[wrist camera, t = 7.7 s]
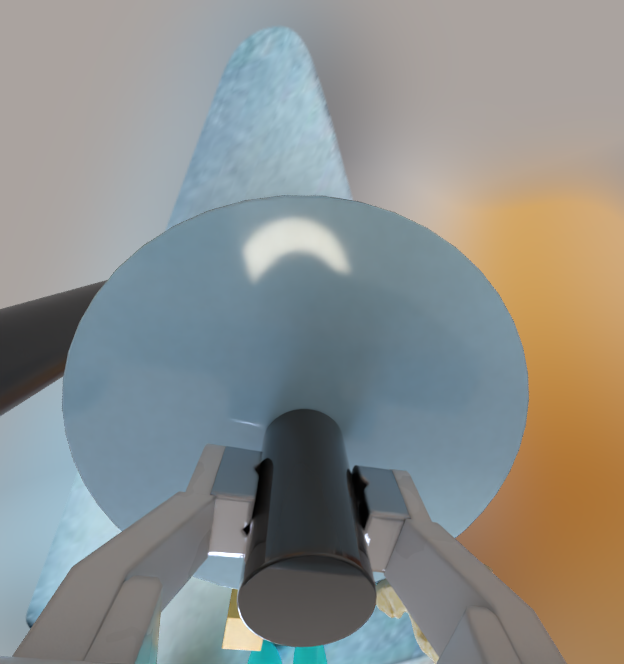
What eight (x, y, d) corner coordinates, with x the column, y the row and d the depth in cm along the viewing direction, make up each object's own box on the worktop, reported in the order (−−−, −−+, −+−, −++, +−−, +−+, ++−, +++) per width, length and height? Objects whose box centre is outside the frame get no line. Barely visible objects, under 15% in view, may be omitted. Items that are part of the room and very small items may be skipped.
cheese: (393, 595, 48) (506, 658, 39) (371, 632, 42) (497, 717, 33) (391, 498, 48) (504, 538, 38) (368, 522, 42) (494, 576, 33)
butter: (238, 551, 41) (221, 649, 31) (243, 523, 39) (227, 617, 30) (268, 554, 41) (260, 651, 32) (274, 526, 40) (268, 620, 30)
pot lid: (90, 545, 12) (-67, 787, 7) (81, 142, 8) (-364, -36, 3) (428, 579, 14) (510, 798, 9) (580, 257, 10) (944, 295, 4)
